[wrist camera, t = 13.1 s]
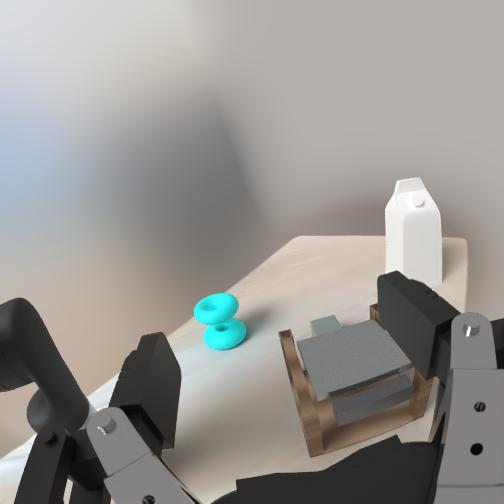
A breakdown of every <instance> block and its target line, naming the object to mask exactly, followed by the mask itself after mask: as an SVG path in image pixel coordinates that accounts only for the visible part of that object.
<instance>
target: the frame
mask: <svg viewBox="0 0 504 504" xmlns="http://www.w3.org/2000/svg"><path fill="white" fill-rule="evenodd" d="M370 319H374V320H375V321H376V322H377V323H378V324H379V325H380V326H381V327H382V328H383V329H384V330H385V328H384V327H383V326H382V324H381V322H380V319H379V315H378V303H377V304H374V305H371V306H370ZM278 333H279V337H280V341H281V346H282V350H283V354H284V358H285V363H286V367H287V371H288V375H289V379H290V383H291V387H292V391H293V394H294V398H295V402H296V406H297V409H298V413H299V417H300V421H301V424H302V428H303V432H304V436H305V439H306V443H307V447H308V451H309V455H310V458H311V457H315V456H318V455H322V454H325V453H329V452H332V451H336V450H339V449H342V448H345V447H348V446H351V445H354V444H357V443H360V442H363V441H366V440H368V439H371V438H374V437H376V436H379V435H381V434H384V433H386V432H389V431H391V430H394V429H396V428H398V427H401V426H403V425H405V424H407V423H410V422H412V421H414V420H416V419H418V418H420V417H422V416H423V415H424V411H425V408H426V405H427V401H428V397H429V394H430V390H431V386H432V382H433V378H434V377H433V378H431V379H429V380H427V381H425V379H424V378H423V377H422V376H421V374H420V373H419V372H418V370H417V369H416V368H415V375H414V380H413V385H414V387H413V396H412V399H409V400H407V401H405V402H403V403H400V404H398V405H395V406H393V407H391V408H388V409H386V410H383V411H381V412H378V413H375V414H373V415H370V416H367V417H365V418H362V419H359V420H356V421H353V422H350V423H347V424H344V425H341V426H338V424H337V421H336V419H335V416H334V414H333V406H332V401H334V400H337V399H340V398H343V397H347V396H350V395H353V394H355V393H358V392H361V391H364V390H367V389H370V388H372V387H375V386H378V385H380V384H383V383H386V382H388V381H391V380H393V379H396V378H398V377H400V376H399V374H396V375H393V376H391V377H388V378H386V379H383V380H380V381H378V382H375V383H372V384H370V385H367V386H364V387H361V388H358V389H355V390H352V391H349V392H346V393H343V394H340V395H337V396H334V397H331V398H327V399H324V400H321V401H317V398H316V395H315V393H314V390H313V387H312V384H311V382H310V379H309V376H308V373H307V371H306V370H305V371H302V368H301V365H300V362H299V359H298V356H297V353H296V350H295V345H294V340H293V335H292V332H291V330H290V329H289V330H285V331H281V332H278ZM413 366H414V365H413ZM414 367H415V366H414Z"/></svg>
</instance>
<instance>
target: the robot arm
mask: <svg viewBox="0 0 504 504" xmlns="http://www.w3.org/2000/svg"><path fill="white" fill-rule="evenodd" d="M377 289H378V315H379V319H380V322H381V324H382V326H383V327H384V328H385V330H386V331H387V332H388V333H389V335H390V336H391V337H392V338H393V340H394V341H395V342H396V343H397V345H398V346H399V347H400V348H401V350H402V351H403V352H404V354H405V355H406V356H407V357H408V359H409V360H410V361H411V362H412V364H413V365H414V366H415V368H416V369H417V370H418V372H419V373H420V374H421V376H422V377H423V378H424V379H425V381H427V380H429V379H431V378H433V377H435V376H437V377H438V378H439V379H440V380H439V384H438V391H437V398H436V405H435V411H434V417H433V422H432V427H431V431H430V435H429V438H428V441H427V442H424V441H423V442H406V443H401V441H400V439H399V438H398V436H397V435H394V436H392V437H390V438H387V439H385V440H382V441H380V442H377V443H375V444H372V445H370V446H367V447H365V448H362V449H359V450H358V451H356V452H355V453H353V454H351V455H350V456H348V457H346V458H345V459H343V460H341V461H339V462H338V463H336V464H334V465H332V466H330V467H329V468H327V469H325V470H322V471H317V472H298V473H273V474H268V475H263V476H257V477H251V478H245V479H238V480H236V487H237V490H235V491H232V492H230V493H228V494H226V495H224V496H222V497H220V498H218V499H217V500H215V501H214V502H212V503H211V504H504V318H502V319H498V320H494V321H489V320H488V319H487V318H486V317H484V316H483V315H481V314H478V313H472V312H470V313H469V312H468V313H463V314H461V313H460V312H459V311H458V310H456V309H455V308H454V307H453V306H452V305H450V304H449V303H448V302H447V301H446V300H444V299H443V298H442V297H441V296H440V297H439V295H438V294H437V293H436V292H434V291H432V289H431V288H429V287H428V286H427V285H426V284H424V283H422V282H420V281H417V280H414V279H410V280H409V279H408V278H407V277H406V276H404V275H403V274H402V273H401V272H399V271H397V270H396V271H393V272H390V273H387V274H384V275H380V276H379V277H378V279H377ZM118 379H119V380H117V383H116V386H115V388H114V391H113V394H112V397H111V400H110V403H109V406H108V408H104V409H102V410H100V411H98V412H97V411H96V410H95V408H94V407H93V406H92V405H91V403H90V402H89V401H88V399H87V398H86V397H85V395H84V394H83V393H82V391H81V389H80V388H79V386H78V384H77V382H76V380H75V378H74V377H73V375H72V373H71V372H70V370H69V368H68V367H67V365H66V364H65V362H64V360H63V359H62V357H61V355H60V353H59V351H58V350H57V348H56V346H55V344H54V342H53V340H52V338H51V336H50V334H49V332H48V330H47V328H46V326H45V324H44V322H43V320H42V319H41V317H40V315H39V313H38V312H37V311H36V309H35V308H34V306H33V305H31V303H30V302H29V301H27V300H26V299H24V298H15V299H12V300H10V301H7V302H5V303H3V304H1V305H0V392H6V391H10V390H14V389H16V388H19V387H22V386H24V385H27V384H30V383H32V382H35V383H36V384H37V385H38V387H39V390H37V391H36V393H35V394H34V395H33V397H32V398H31V400H30V402H29V405H28V407H27V419H28V422H29V424H30V425H31V427H32V428H33V429H34V431H35V432H36V433H37V436H36V438H35V441H34V443H33V446H32V449H31V451H30V454H29V457H28V460H27V463H26V466H25V469H24V472H23V475H22V478H21V481H20V484H19V487H18V491H17V494H16V498H15V501H14V504H64V500H63V497H64V492H65V487H66V483H67V479H69V480H71V481H72V482H73V486H72V491H71V495H70V500H69V504H110V503H111V499H113V500H114V502H115V504H203V503H202V502H201V501H200V500H199V499H198V498H197V497H196V496H195V495H194V494H193V493H192V492H191V491H190V490H189V489H188V488H187V486H186V485H185V484H184V483H183V482H182V481H181V480H180V479H179V477H178V476H177V475H176V474H175V473H174V472H173V470H172V469H171V468H170V467H169V466H168V464H167V463H166V462H165V461H164V460H163V459H162V457H161V453H162V449H170V448H174V441H175V431H176V421H177V412H178V403H179V395H180V387H181V370H180V366H179V363H178V361H177V359H176V357H175V355H174V353H173V351H172V349H171V347H170V345H169V343H168V341H167V338H166V337H165V335H164V333H163V332H158V333H153V334H147V335H143V336H142V337H141V340H140V342H139V345H138V348H137V350H134V351H132V352H131V353H130V355H129V356H128V357H127V358H126V359H125V361H124V364H123V366H122V369H121V372H120V374H119V377H118Z"/></svg>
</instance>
